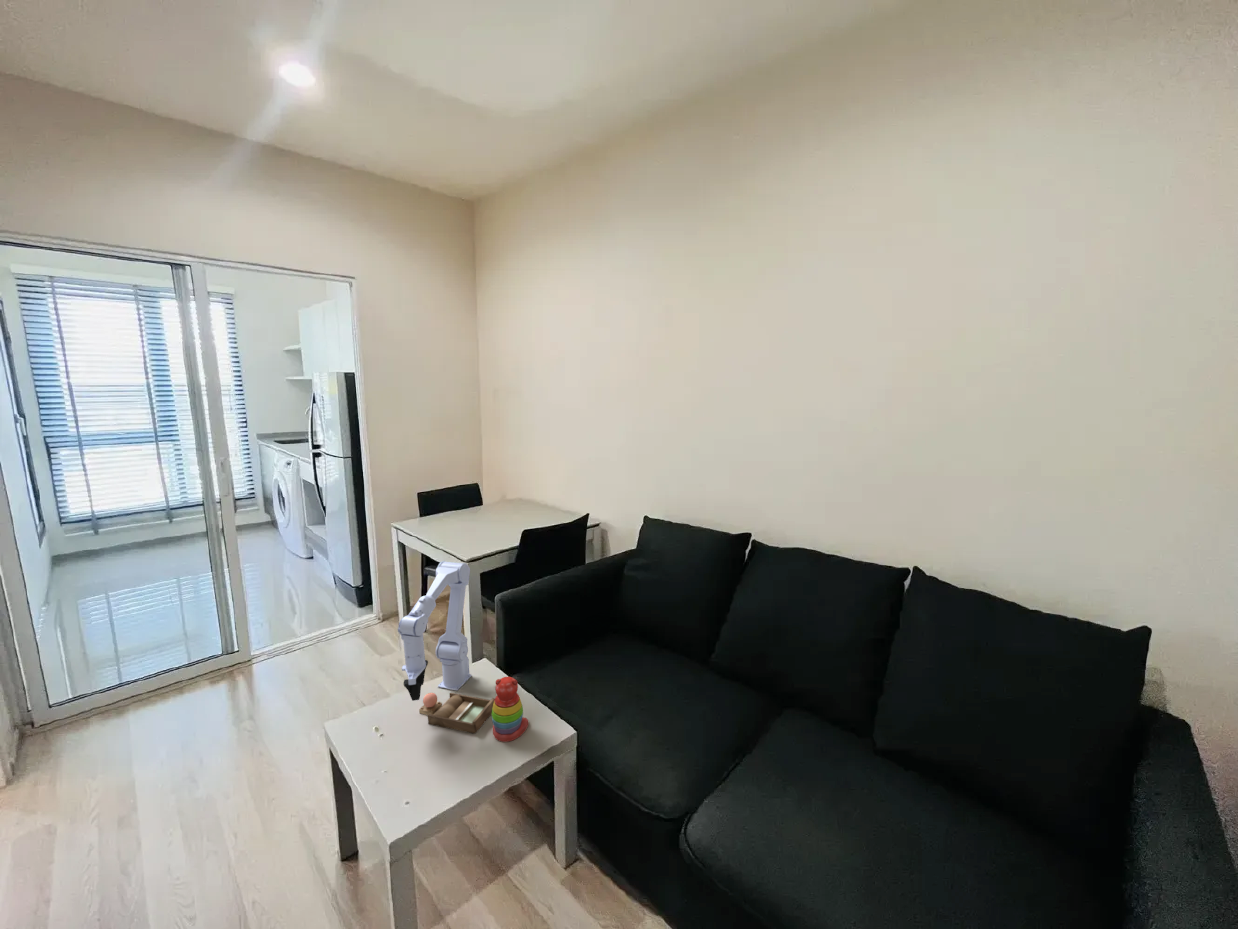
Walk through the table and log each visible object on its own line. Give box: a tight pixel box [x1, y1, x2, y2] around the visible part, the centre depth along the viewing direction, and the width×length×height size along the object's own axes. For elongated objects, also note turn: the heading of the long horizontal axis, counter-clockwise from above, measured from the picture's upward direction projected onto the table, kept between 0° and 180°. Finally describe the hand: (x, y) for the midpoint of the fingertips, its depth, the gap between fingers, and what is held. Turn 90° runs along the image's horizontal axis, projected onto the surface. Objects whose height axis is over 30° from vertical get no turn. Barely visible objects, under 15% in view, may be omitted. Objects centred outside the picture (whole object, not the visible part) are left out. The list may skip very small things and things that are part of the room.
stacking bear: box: [491, 676, 530, 743], centre depth 151 cm, size 11×10×18 cm
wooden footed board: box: [419, 701, 443, 716], centre depth 162 cm, size 5×5×2 cm
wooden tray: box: [427, 692, 496, 735], centre depth 159 cm, size 12×17×7 cm
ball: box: [422, 692, 438, 707], centre depth 161 cm, size 4×4×4 cm
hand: (417, 692), depth 156 cm, fingers open, 7 cm apart
